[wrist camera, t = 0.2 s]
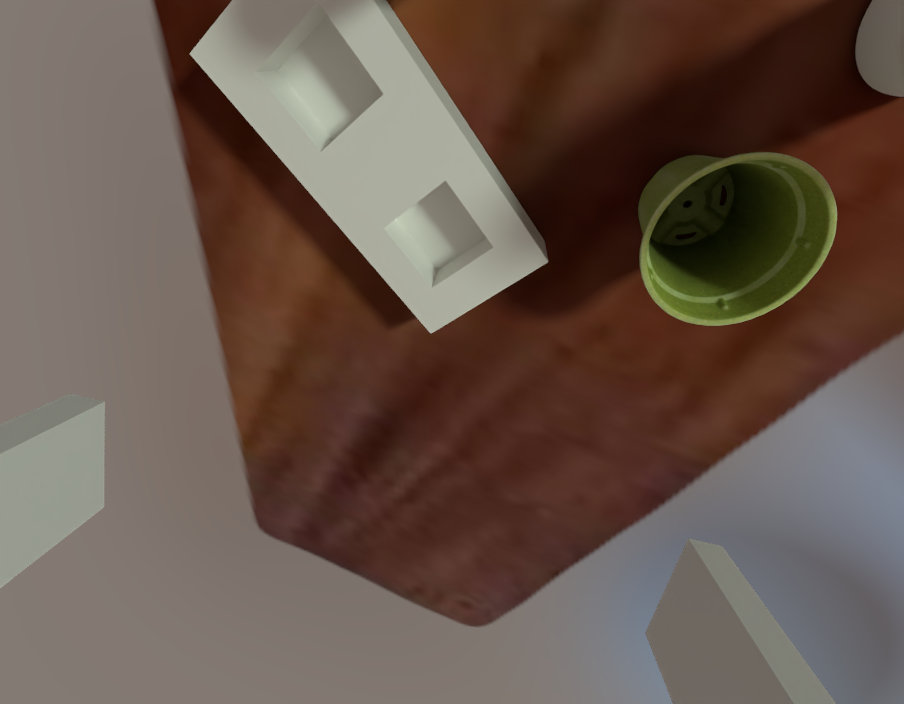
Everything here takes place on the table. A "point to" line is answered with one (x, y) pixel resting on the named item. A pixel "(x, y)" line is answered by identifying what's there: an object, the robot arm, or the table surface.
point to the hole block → (376, 146)
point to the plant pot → (733, 234)
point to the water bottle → (882, 47)
